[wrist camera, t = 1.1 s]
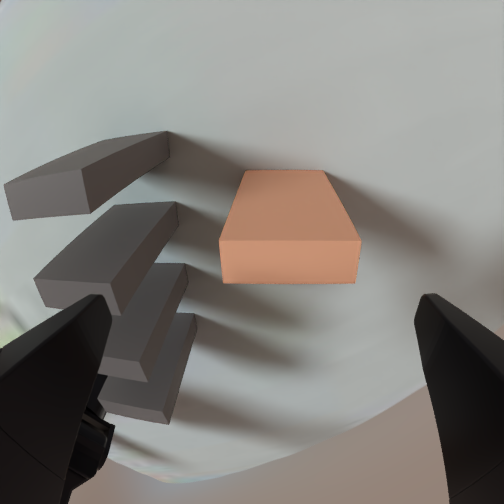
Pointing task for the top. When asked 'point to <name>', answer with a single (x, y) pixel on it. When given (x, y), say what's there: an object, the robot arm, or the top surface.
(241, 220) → the domino end
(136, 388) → the domino
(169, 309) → the domino
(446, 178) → the top surface
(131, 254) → the domino
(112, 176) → the domino
